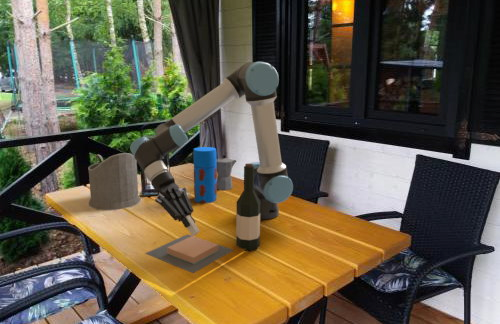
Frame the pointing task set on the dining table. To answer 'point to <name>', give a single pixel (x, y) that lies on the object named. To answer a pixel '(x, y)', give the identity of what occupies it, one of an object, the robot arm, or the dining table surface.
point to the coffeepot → (224, 173)
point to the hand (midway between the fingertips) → (196, 233)
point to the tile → (192, 249)
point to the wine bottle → (248, 214)
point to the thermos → (205, 174)
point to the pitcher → (114, 182)
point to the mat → (164, 256)
